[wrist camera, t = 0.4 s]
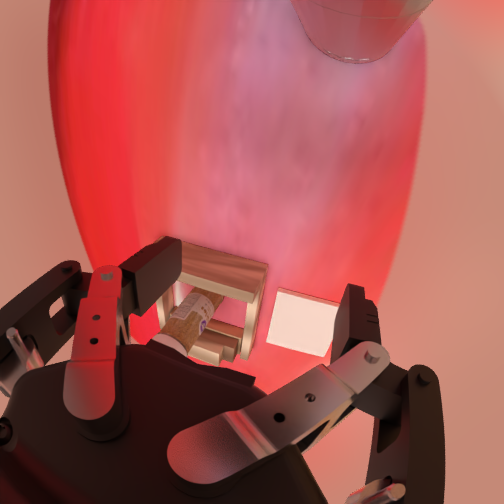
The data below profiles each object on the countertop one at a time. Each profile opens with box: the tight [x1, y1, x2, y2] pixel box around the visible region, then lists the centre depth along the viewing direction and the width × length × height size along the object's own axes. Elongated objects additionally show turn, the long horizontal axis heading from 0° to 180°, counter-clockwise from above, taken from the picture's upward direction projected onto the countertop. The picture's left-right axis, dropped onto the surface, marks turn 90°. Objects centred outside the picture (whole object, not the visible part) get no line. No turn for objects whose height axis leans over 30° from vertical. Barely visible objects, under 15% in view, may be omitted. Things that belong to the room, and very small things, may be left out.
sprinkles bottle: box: [153, 287, 224, 357], centre depth 34 cm, size 5×5×14 cm
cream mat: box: [266, 288, 340, 357], centre depth 37 cm, size 10×9×1 cm
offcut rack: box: [154, 236, 268, 367], centre depth 37 cm, size 16×15×6 cm
